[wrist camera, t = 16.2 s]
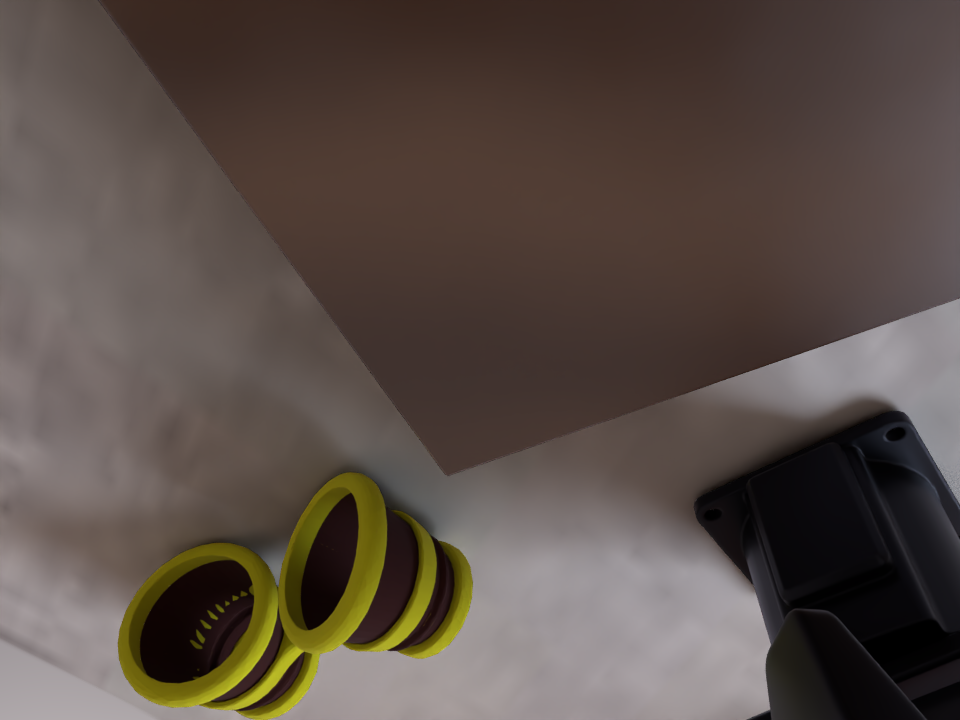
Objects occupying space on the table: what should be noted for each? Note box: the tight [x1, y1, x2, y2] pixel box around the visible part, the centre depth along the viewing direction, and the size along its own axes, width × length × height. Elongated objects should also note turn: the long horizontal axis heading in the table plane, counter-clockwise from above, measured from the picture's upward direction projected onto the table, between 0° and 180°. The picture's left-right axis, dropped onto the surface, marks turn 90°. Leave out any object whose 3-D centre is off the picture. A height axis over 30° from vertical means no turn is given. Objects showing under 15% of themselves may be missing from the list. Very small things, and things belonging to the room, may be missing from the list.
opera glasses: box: [118, 472, 473, 720], centre depth 27 cm, size 10×5×5 cm, turn 123°
